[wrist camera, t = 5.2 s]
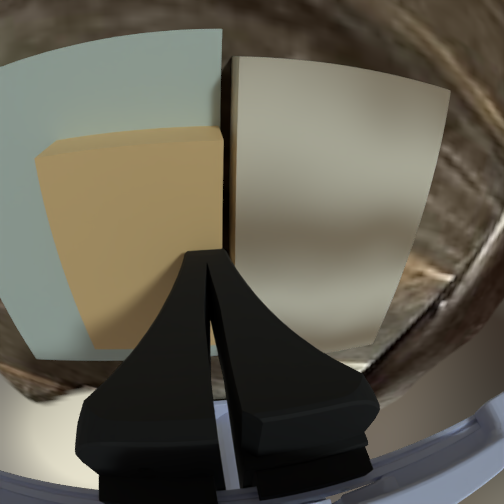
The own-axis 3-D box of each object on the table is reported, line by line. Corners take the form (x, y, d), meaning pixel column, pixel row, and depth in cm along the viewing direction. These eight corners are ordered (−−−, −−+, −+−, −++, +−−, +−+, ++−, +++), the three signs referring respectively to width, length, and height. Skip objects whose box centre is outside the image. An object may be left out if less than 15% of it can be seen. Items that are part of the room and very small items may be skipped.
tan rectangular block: (218, 313, 16) (223, 344, 14) (101, 318, 15) (95, 349, 13) (218, 125, 11) (223, 140, 9) (56, 140, 10) (34, 158, 8)
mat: (223, 348, 18) (224, 354, 18) (38, 353, 16) (36, 359, 16) (220, 30, 9) (222, 28, 9) (-55, 92, 7) (-62, 94, 7)
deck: (359, 319, 19) (372, 343, 17) (230, 336, 18) (234, 365, 16) (420, 81, 11) (450, 90, 9) (231, 56, 10) (239, 56, 8)
